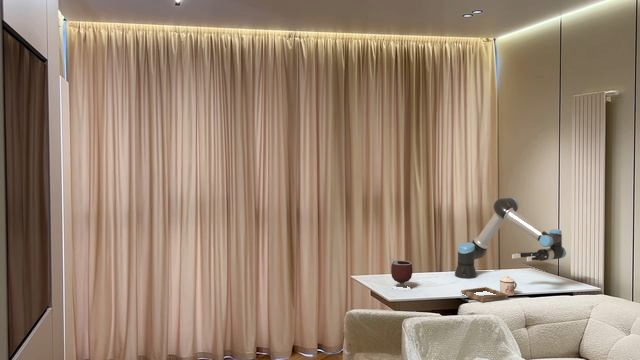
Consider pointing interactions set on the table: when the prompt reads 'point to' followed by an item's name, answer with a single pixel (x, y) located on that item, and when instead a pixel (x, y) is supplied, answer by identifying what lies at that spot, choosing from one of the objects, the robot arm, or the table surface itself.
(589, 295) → the table surface
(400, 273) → the mate gourd
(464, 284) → the table surface
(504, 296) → the tray
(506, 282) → the teacup with lid
